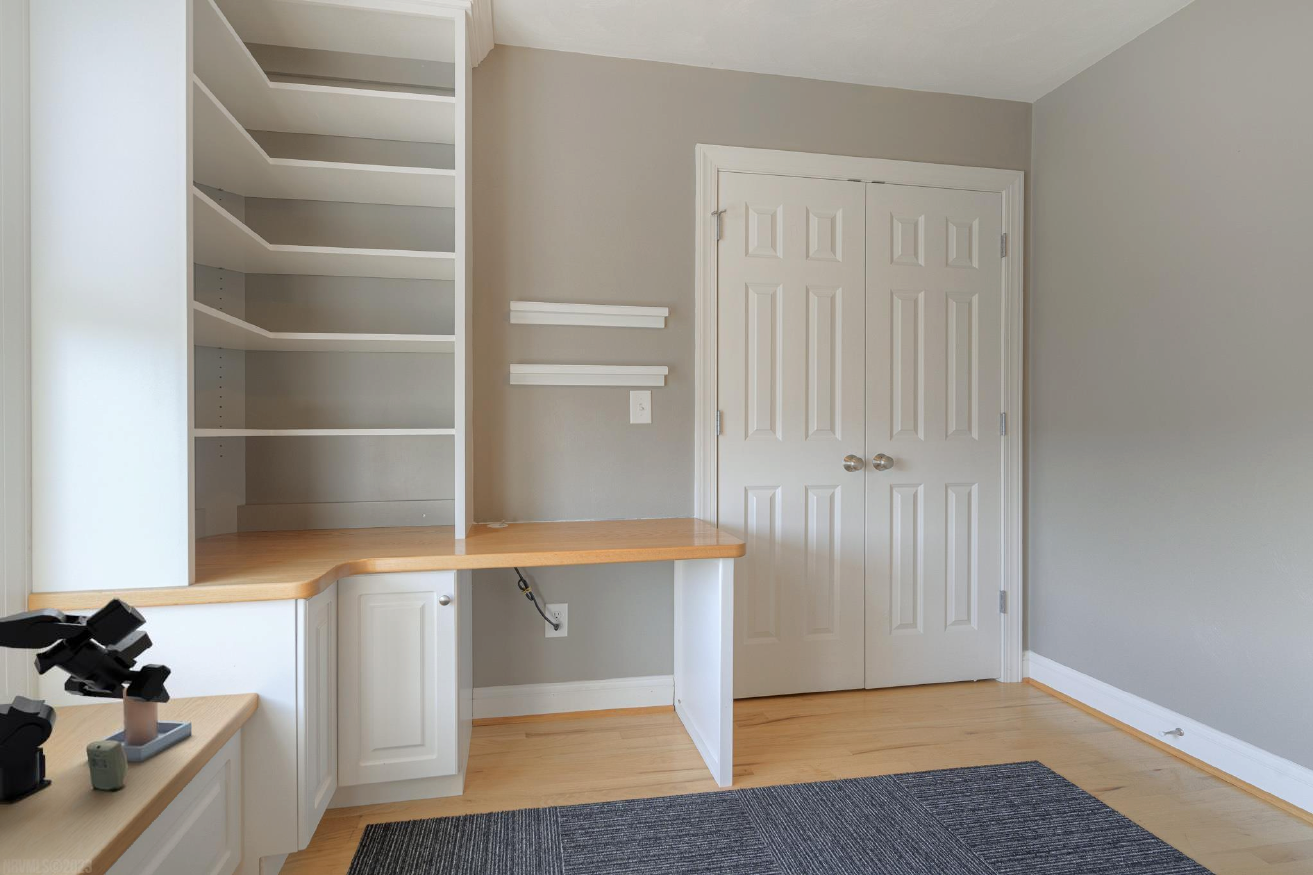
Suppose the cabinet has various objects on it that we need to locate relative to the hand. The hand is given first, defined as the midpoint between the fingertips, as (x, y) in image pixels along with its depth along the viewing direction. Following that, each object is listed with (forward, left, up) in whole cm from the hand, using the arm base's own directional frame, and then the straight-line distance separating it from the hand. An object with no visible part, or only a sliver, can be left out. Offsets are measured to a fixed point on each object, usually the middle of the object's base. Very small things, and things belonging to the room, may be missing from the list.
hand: (148, 698), depth 126 cm
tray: (-1, 0, -9) cm, 9 cm away
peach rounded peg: (-2, 0, -8) cm, 8 cm away
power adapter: (-15, -7, -9) cm, 19 cm away
